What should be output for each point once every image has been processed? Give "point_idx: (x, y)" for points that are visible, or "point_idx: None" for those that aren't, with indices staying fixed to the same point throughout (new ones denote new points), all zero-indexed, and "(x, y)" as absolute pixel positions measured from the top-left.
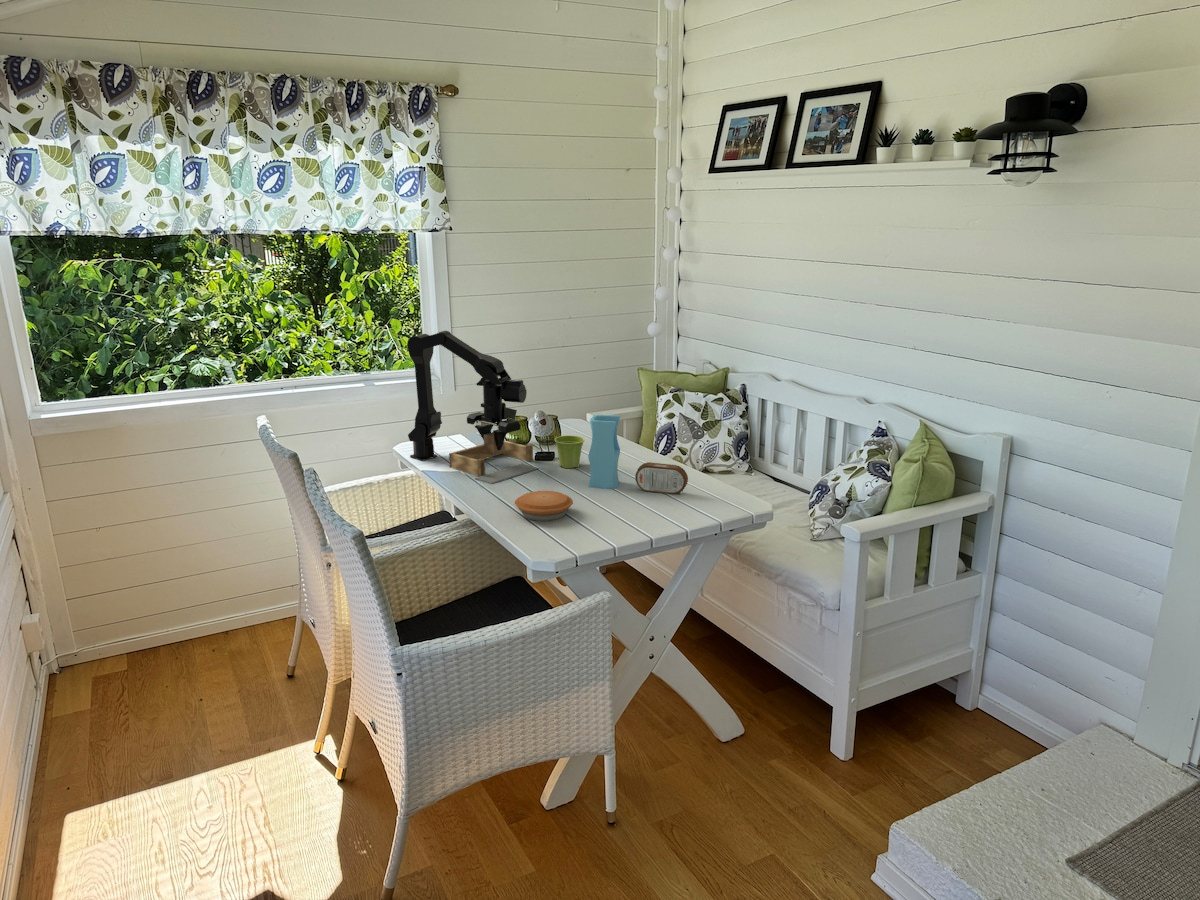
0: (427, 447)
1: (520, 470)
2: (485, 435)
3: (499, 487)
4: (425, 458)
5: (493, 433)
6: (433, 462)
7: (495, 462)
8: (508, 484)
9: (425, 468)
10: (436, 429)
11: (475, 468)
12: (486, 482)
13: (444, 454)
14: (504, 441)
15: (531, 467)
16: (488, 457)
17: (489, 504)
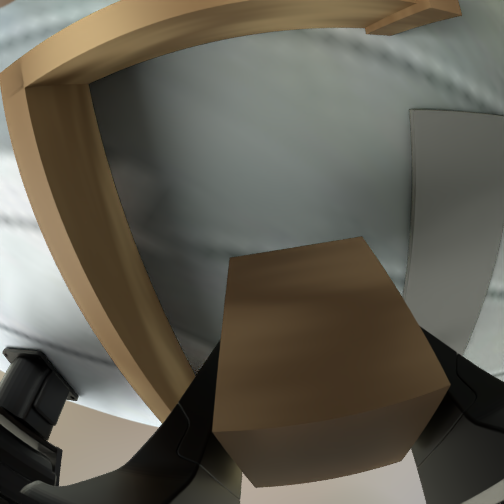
0: (57, 420)
1: (483, 216)
2: (283, 481)
3: (484, 353)
4: (71, 392)
5: (291, 452)
6: (103, 389)
7: (244, 212)
8: (497, 326)
9: (161, 424)
10: (8, 447)
11: None
12: None
13: (17, 319)
14: (58, 55)
15: (492, 137)
16: (116, 191)
17: None
